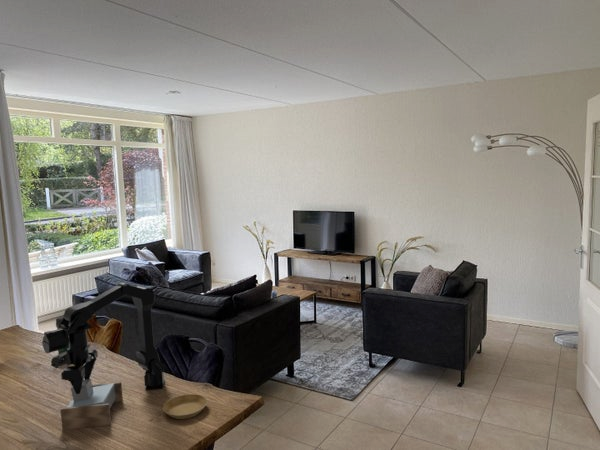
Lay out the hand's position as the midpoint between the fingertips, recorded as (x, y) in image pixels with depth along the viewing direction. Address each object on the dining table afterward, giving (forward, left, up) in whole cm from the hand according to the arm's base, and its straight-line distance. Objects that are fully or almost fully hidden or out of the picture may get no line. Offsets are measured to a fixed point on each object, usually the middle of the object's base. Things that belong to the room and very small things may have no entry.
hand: (82, 387), depth 160 cm
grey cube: (0, 0, -3) cm, 3 cm away
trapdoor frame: (-3, 0, -10) cm, 10 cm away
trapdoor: (-3, 0, -8) cm, 9 cm away
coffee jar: (+26, -61, -10) cm, 67 cm away
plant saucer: (-34, +4, -10) cm, 36 cm away
